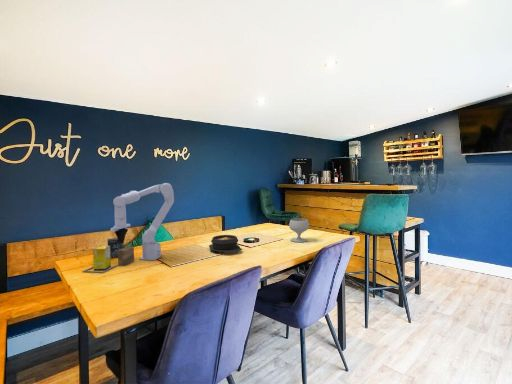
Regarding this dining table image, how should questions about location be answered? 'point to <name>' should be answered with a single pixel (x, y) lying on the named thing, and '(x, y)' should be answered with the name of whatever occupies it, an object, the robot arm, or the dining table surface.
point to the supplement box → (101, 258)
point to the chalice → (299, 228)
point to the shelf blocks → (125, 256)
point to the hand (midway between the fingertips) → (121, 242)
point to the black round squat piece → (225, 244)
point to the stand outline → (97, 271)
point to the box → (115, 246)
